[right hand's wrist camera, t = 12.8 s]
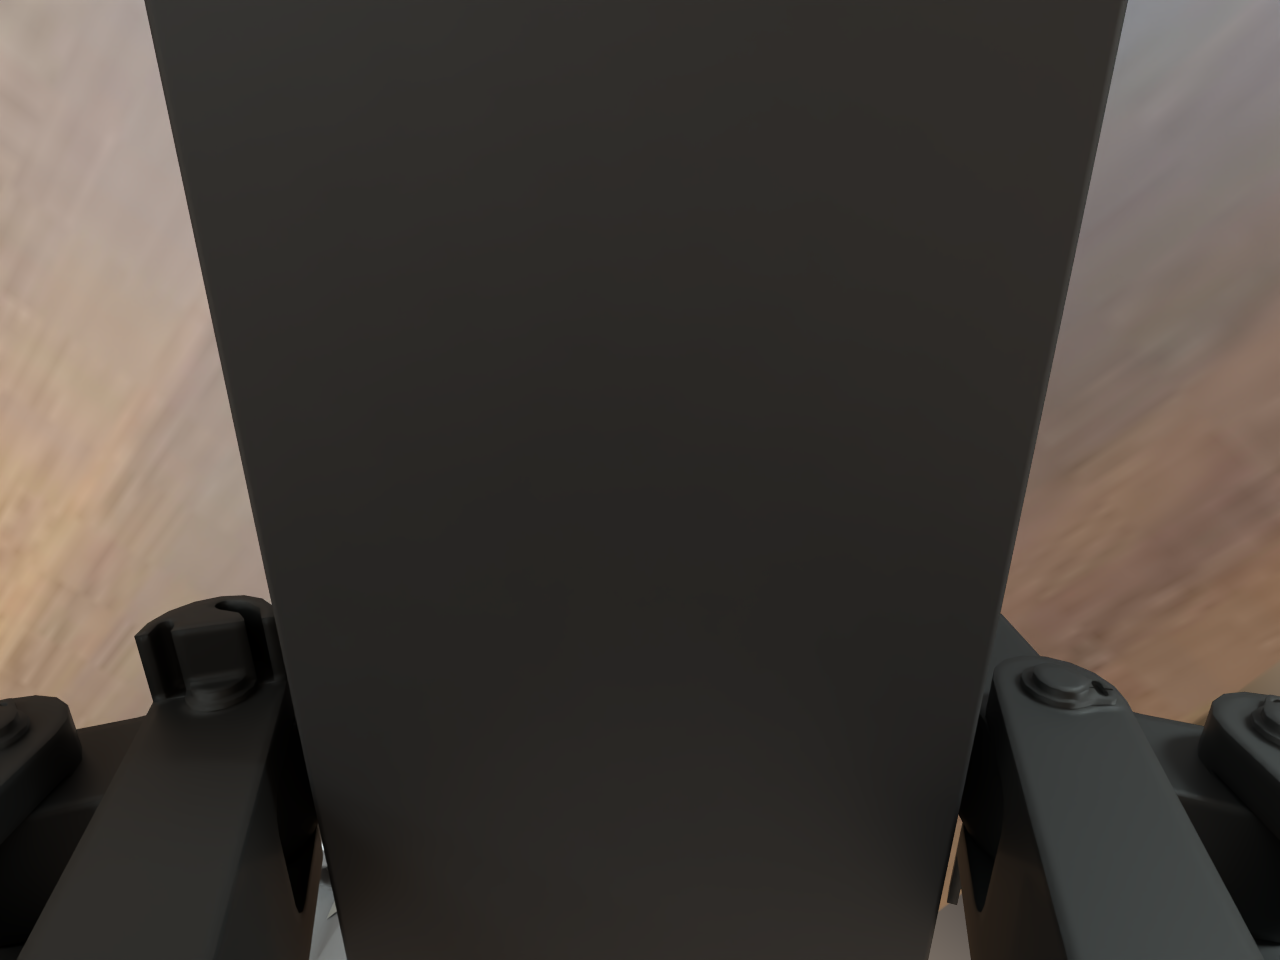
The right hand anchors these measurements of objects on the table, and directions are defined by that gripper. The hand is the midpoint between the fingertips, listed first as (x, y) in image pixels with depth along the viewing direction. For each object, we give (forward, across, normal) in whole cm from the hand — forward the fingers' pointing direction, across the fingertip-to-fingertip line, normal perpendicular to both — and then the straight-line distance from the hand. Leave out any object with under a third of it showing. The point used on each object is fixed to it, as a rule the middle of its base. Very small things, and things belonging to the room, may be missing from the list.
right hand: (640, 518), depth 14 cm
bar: (+1, 0, -10) cm, 10 cm away
